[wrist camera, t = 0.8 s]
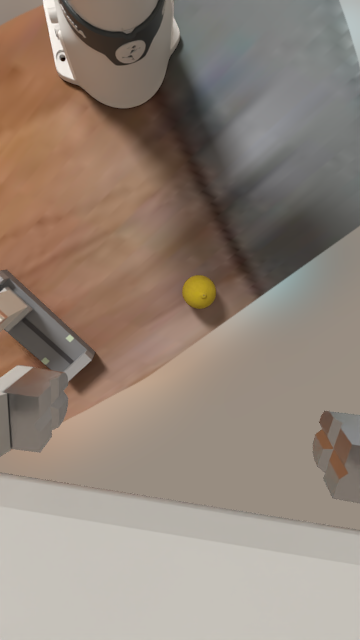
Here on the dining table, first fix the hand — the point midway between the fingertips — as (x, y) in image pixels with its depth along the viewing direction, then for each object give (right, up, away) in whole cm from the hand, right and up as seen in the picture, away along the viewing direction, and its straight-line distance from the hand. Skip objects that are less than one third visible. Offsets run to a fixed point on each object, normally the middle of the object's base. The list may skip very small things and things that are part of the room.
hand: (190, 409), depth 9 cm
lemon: (+2, +9, +45) cm, 45 cm away
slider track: (-25, +2, +42) cm, 49 cm away
